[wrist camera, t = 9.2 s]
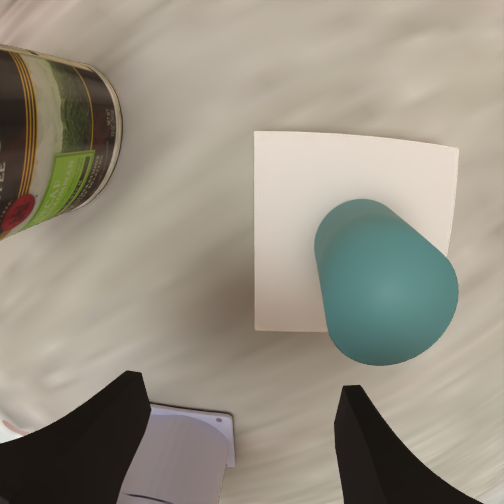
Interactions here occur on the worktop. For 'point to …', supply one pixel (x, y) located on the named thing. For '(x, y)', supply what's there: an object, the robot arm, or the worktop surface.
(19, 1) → the worktop surface
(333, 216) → the teal cylinder
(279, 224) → the plinth
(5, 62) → the coffee can
